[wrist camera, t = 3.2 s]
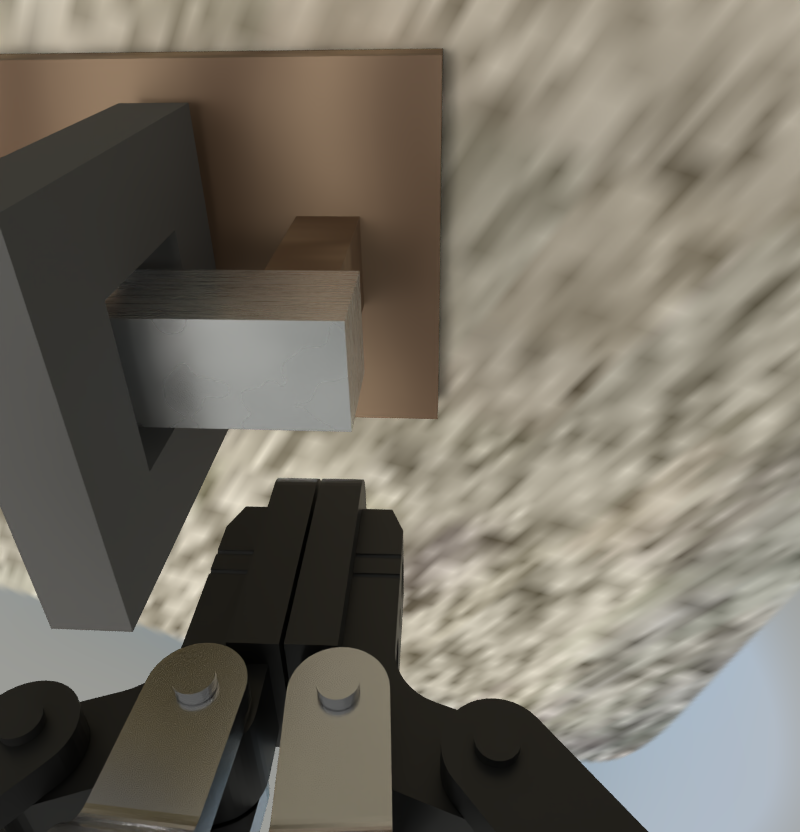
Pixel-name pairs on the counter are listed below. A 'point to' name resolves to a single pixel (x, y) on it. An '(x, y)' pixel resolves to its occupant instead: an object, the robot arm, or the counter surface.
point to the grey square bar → (241, 348)
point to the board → (292, 174)
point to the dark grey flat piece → (93, 359)
